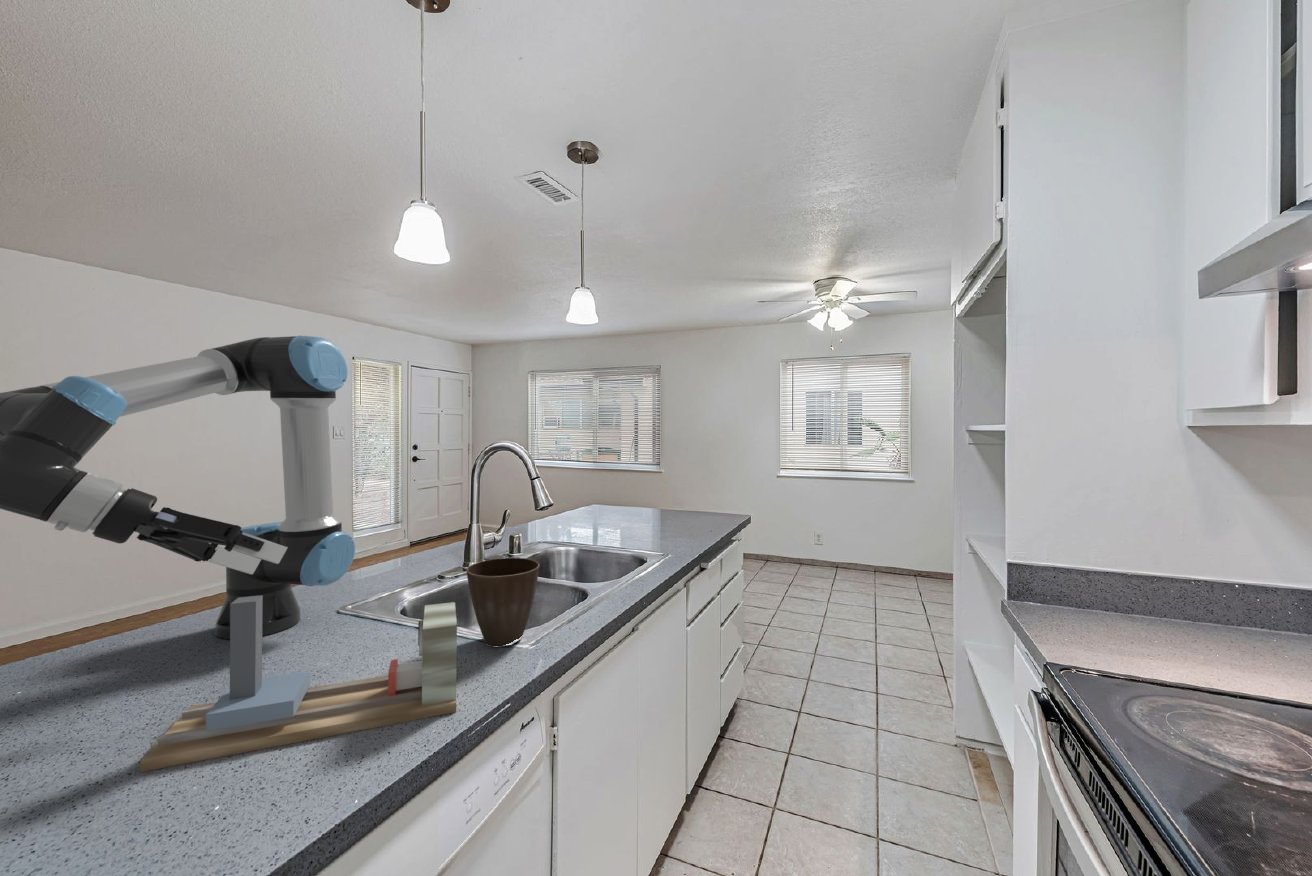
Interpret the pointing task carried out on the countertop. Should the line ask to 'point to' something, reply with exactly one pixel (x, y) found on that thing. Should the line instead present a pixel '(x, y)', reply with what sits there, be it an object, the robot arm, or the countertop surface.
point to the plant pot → (502, 597)
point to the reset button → (404, 676)
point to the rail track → (328, 705)
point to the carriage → (253, 676)
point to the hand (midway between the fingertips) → (269, 561)
